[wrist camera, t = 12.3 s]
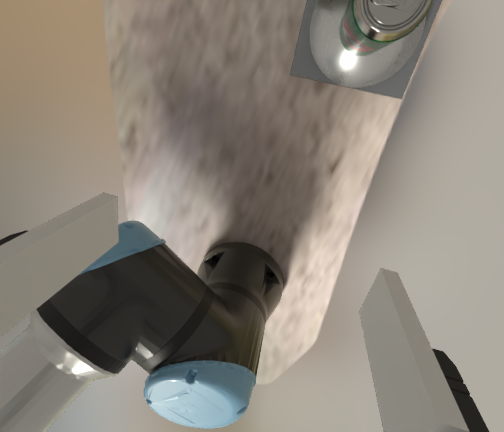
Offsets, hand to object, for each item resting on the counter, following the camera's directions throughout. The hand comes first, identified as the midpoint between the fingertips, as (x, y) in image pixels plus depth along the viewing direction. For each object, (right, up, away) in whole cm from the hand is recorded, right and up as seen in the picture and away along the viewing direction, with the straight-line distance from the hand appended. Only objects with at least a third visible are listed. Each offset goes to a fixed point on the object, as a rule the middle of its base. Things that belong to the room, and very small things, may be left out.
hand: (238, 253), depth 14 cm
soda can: (+12, +21, +15) cm, 28 cm away
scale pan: (+12, +21, +16) cm, 30 cm away
